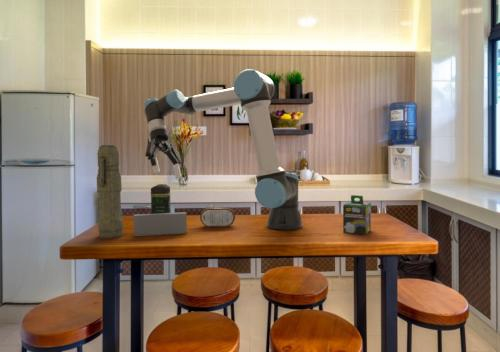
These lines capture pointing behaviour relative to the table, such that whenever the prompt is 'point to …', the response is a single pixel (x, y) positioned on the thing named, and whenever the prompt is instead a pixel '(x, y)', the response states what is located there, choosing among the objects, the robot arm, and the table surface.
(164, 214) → the board
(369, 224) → the chalk box
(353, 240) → the table surface
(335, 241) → the table surface
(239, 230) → the table surface
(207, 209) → the tin
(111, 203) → the carved stone statue
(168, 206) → the coffee jar
